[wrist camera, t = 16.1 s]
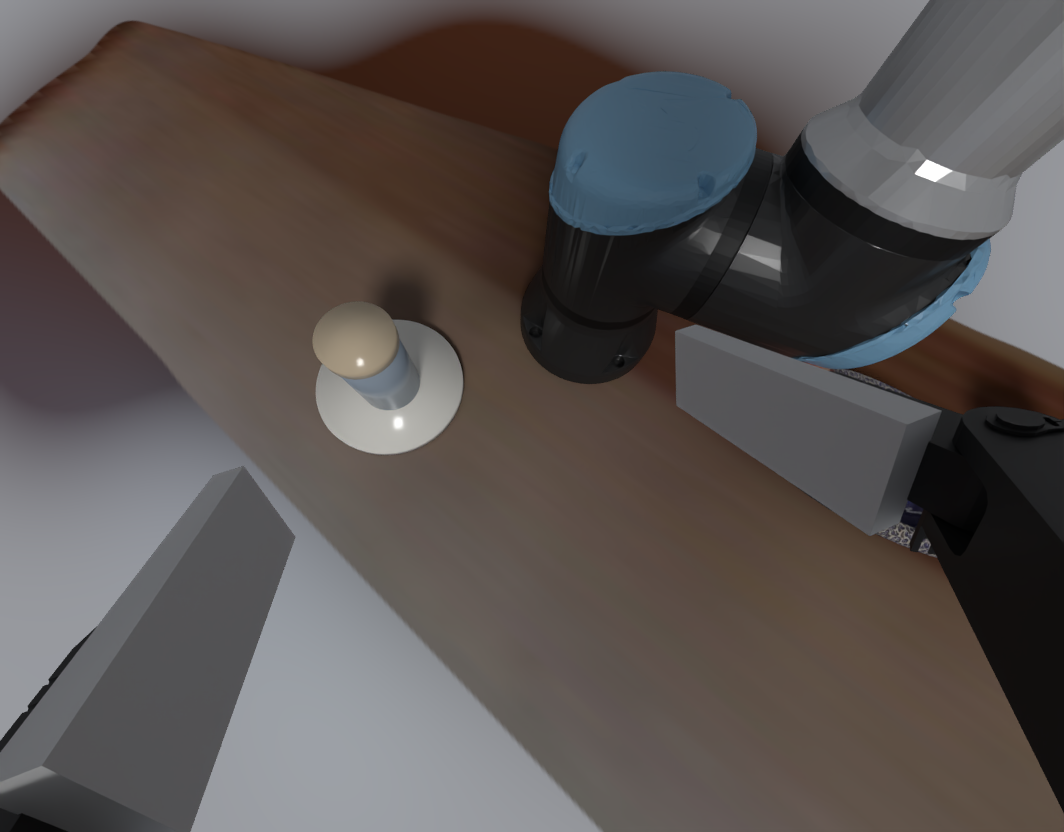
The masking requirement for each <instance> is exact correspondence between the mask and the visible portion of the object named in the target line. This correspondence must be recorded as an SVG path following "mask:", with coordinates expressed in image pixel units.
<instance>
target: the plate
mask: <svg viewBox="0 0 1064 832" xmlns="http://www.w3.org/2000/svg"><path fill="white" fill-rule="evenodd" d="M392 321H393V322H394V324H395V326H396V328H397V330H398V333H399V338H400V340H401V342H402V344H403V345H404V347H405V349H406V351H407V353H408V354H409V356H410V358H411V360H412V362H413V363H414V365H415V367H416V369H417V371H418V373H419V376H420V387H419V391H418V393H417V395H416V396H415V398H414V399H413V400H412V401H411V402H410V403H409V404H407V405H406V406H404V407H402V408H400V409H396V410H381V409H378V408H375V407H373V406H372V405H370V404H369V403H368V402H367V401H366V400H365V399H364V398H363V397H362V396H361V395H360V394H359V393H358V392H356V391H355V390H354V389H353V388H352V387H351V386H350V385H349V384H348V383H347V382H346V381H345V380H344V379H343V378H341V377H340V376H338V375H336V374H334V373H333V372H331V371H330V370H329V369H328V368H327V367H326V366H325V365H324V364H322V366H321V368H320V371H319V374H318V378H317V383H316V402H317V406H318V410H319V413H320V415H321V417H322V419H323V421H324V423H325V424H326V426H327V427H328V428H329V430H330V431H331V432H332V433H333V434H334V435H335V436H336V437H337V438H338V439H340V440H341V441H343V442H344V443H346V444H347V445H349V446H351V447H353V448H355V449H357V450H360V451H363V452H366V453H370V454H376V455H397V454H402V453H407V452H410V451H413V450H416V449H418V448H420V447H422V446H424V445H426V444H428V443H429V442H431V441H433V440H434V439H435V438H437V437H438V436H439V435H440V434H441V433H442V432H443V431H444V430H445V429H446V428H447V427H448V426H449V424H450V423H451V422H452V420H453V419H454V417H455V415H456V413H457V411H458V409H459V407H460V404H461V401H462V396H463V389H464V380H463V373H462V368H461V365H460V362H459V359H458V357H457V355H456V353H455V351H454V349H453V348H452V346H451V345H450V344H449V343H448V341H447V340H446V339H445V338H444V337H443V336H441V335H440V334H439V333H437V332H436V331H434V330H433V329H431V328H429V327H427V326H425V325H422V324H420V323H416V322H413V321H407V320H392Z"/></svg>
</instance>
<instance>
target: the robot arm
mask: <svg viewBox="0 0 1064 832" xmlns="http://www.w3.org/2000/svg"><path fill="white" fill-rule="evenodd" d="M1063 139H1064V0H930V1H929V2H928V3H927V5H926V6H925V7H924V9H923V10H922V12H921V13H920V14H919V16H918V17H917V19H916V20H915V21H914V22H913V24H912V25H911V27H910V28H909V29H908V31H907V32H906V33H905V35H904V36H903V37H902V39H901V40H900V42H899V43H898V44H897V46H896V47H895V48H894V50H893V51H892V53H891V54H890V55H889V57H888V58H887V59H886V61H885V62H884V63H883V65H882V66H881V67H880V69H879V70H878V72H877V73H876V74H875V76H874V77H873V78H872V80H871V81H870V82H869V84H868V85H867V87H866V88H865V89H864V91H863V92H862V93H861V94H860V95H858V96H857V97H855V98H854V99H852V100H850V101H847V102H845V103H843V104H840V105H838V106H836V107H833V108H831V109H829V110H826V111H824V112H822V113H819V114H817V115H815V116H814V117H812V118H811V120H810V121H809V122H808V123H807V125H806V126H805V127H804V129H803V130H802V132H801V133H800V135H799V136H798V138H797V139H796V141H795V142H794V144H793V145H792V147H791V148H790V150H789V151H788V152H787V154H786V155H785V156H780V155H776V154H773V153H770V152H766V151H763V150H760V149H757V148H756V141H757V129H756V123H755V120H754V117H753V115H752V113H751V111H750V110H749V108H748V107H747V105H746V104H745V103H744V102H743V101H742V100H741V99H737V100H733V99H731V91H730V90H729V89H728V88H727V87H725V86H723V85H721V84H719V83H717V82H715V81H712V80H710V79H707V78H704V77H701V76H697V75H693V74H687V73H680V72H666V71H664V72H649V73H641V74H637V75H632V76H628V77H625V78H623V79H622V80H621V81H618V82H614V83H611V84H608V85H605V86H604V87H602V88H600V89H599V90H597V91H596V92H594V93H593V94H591V95H590V96H589V97H588V98H586V99H585V100H584V101H583V102H582V103H581V104H580V105H579V106H578V107H577V109H576V110H575V111H574V113H573V114H572V115H571V117H570V118H569V120H568V122H567V124H566V126H565V128H564V130H563V133H562V135H561V139H560V143H559V148H558V153H557V158H556V164H555V168H554V171H553V173H552V175H551V179H550V189H549V198H550V203H549V212H548V221H547V230H546V238H545V247H544V256H543V265H542V266H541V268H540V269H539V271H538V272H537V274H536V275H535V276H534V278H533V279H532V281H531V282H530V284H529V286H528V288H527V290H526V292H525V295H524V298H523V301H522V307H521V331H522V336H523V339H524V342H525V344H526V346H527V348H528V350H529V351H530V353H531V354H532V356H533V357H534V358H535V359H536V361H537V362H538V363H539V364H540V365H542V366H543V367H544V368H545V369H546V370H548V371H549V372H551V373H553V374H554V375H556V376H558V377H560V378H563V379H565V380H568V381H572V382H576V383H584V384H597V383H604V382H608V381H611V380H614V379H617V378H619V377H621V376H623V375H624V374H626V373H628V372H629V371H630V370H631V369H633V368H634V367H635V366H636V365H637V364H638V362H639V361H640V360H641V359H642V357H643V356H644V354H645V353H646V352H647V350H648V348H649V347H650V345H651V343H652V340H653V337H654V334H655V330H656V322H657V311H658V309H659V310H662V311H664V312H667V313H670V314H673V315H676V316H678V317H681V318H683V319H686V320H688V321H691V322H694V323H696V324H699V325H702V326H704V327H702V326H699V325H693V326H690V327H687V328H683V329H680V330H677V331H675V350H676V405H677V406H678V407H680V408H681V409H683V410H684V411H686V412H687V413H689V414H690V415H692V416H693V417H695V418H696V419H697V420H699V421H700V422H702V423H703V424H705V425H706V426H708V427H709V428H711V429H712V430H714V431H715V432H717V433H718V434H720V435H721V436H723V437H724V438H726V439H727V440H729V441H730V442H731V443H733V444H734V445H736V446H737V447H739V448H740V449H742V450H743V451H745V452H746V453H748V454H749V455H751V456H752V457H754V458H755V459H757V460H758V461H760V462H761V463H762V464H764V465H765V466H767V467H768V468H770V469H771V470H773V471H774V472H776V473H777V474H779V475H780V476H782V477H783V478H785V479H786V480H788V481H789V482H791V483H792V484H794V485H795V486H796V487H798V488H799V489H801V490H802V491H804V492H805V493H807V494H808V495H810V496H811V497H813V498H814V499H816V500H817V501H819V502H820V503H822V504H823V505H825V506H826V507H828V508H829V509H830V510H832V511H833V512H835V513H836V514H838V515H839V516H841V517H842V518H844V519H845V520H847V521H848V522H850V523H851V524H853V525H854V526H856V527H857V528H859V529H860V530H861V531H863V532H864V533H866V534H867V535H869V536H871V535H873V534H876V533H878V532H880V531H882V530H885V529H887V528H889V527H892V526H894V525H896V524H898V523H899V522H900V520H901V517H902V514H903V512H904V509H905V507H906V504H907V501H910V502H912V503H914V504H915V505H917V506H919V507H921V508H923V512H922V514H921V517H920V519H919V521H918V524H917V526H916V529H915V531H914V533H913V536H912V538H911V541H910V551H913V552H918V550H919V548H920V546H921V543H922V541H923V539H928V540H929V542H930V544H931V546H930V548H929V550H928V554H933V555H936V556H937V558H938V560H939V562H940V564H941V566H942V568H943V570H944V572H945V574H946V576H947V578H948V580H949V582H950V584H951V586H952V588H953V590H954V592H955V594H956V597H957V599H958V601H959V603H960V605H961V607H962V609H963V611H964V613H965V615H966V617H967V619H968V621H969V623H970V625H971V627H972V629H973V631H974V633H975V635H976V637H977V639H978V641H979V643H980V645H981V647H982V649H983V651H984V653H985V655H986V657H987V659H988V661H989V663H990V665H991V667H992V669H993V671H994V673H995V675H996V677H997V679H998V681H999V683H1000V685H1001V687H1002V689H1003V691H1004V693H1005V695H1006V697H1007V699H1008V701H1009V703H1010V705H1011V707H1012V709H1013V711H1014V714H1015V716H1016V718H1017V720H1018V722H1019V724H1020V726H1021V728H1022V730H1023V732H1024V734H1025V736H1026V738H1027V740H1028V742H1029V744H1030V746H1031V748H1032V750H1033V752H1034V754H1035V756H1036V758H1037V760H1038V762H1039V764H1040V766H1041V768H1042V770H1043V772H1044V774H1045V776H1046V778H1047V780H1048V782H1049V784H1050V786H1051V788H1052V790H1053V792H1054V794H1055V796H1056V798H1057V800H1058V802H1059V804H1060V806H1061V808H1062V810H1063V812H1064V419H1062V420H1059V419H1057V418H1055V417H1052V416H1048V415H1045V414H1042V413H1039V412H1034V411H1029V410H1024V409H1019V408H1009V407H998V406H996V407H979V408H976V409H972V410H969V411H967V412H966V413H965V414H964V415H962V414H959V413H956V412H953V411H950V410H947V409H944V408H941V407H938V406H936V405H933V404H930V403H927V402H924V401H921V400H918V399H915V398H912V397H909V396H907V395H904V394H901V393H898V392H895V391H892V390H889V389H885V390H883V389H882V387H880V386H878V385H875V384H872V383H869V382H867V383H864V382H863V380H860V379H857V378H854V377H852V376H849V375H846V374H843V373H839V372H833V371H827V370H824V369H821V368H818V367H816V366H819V367H823V368H830V369H850V368H857V367H862V366H866V365H870V364H874V363H876V362H879V361H882V360H885V359H887V358H889V357H892V356H894V355H896V354H898V353H900V352H902V351H904V350H906V349H907V348H909V347H911V346H913V345H914V344H916V343H918V342H919V341H921V340H922V339H924V338H925V337H926V336H928V335H929V334H931V333H932V332H933V331H935V330H936V329H937V328H938V327H940V326H941V325H942V324H943V323H944V322H945V321H946V320H948V319H949V318H950V317H951V316H952V315H953V314H954V312H956V308H955V307H954V306H953V303H954V301H956V300H957V299H959V298H960V297H963V296H966V295H969V294H971V293H972V292H973V290H974V289H975V287H976V286H977V285H978V283H979V281H980V280H981V278H982V276H983V275H984V272H985V270H986V268H987V265H988V261H989V256H990V252H991V245H990V239H989V238H991V237H992V236H993V235H995V234H996V233H997V232H999V231H1000V230H1001V229H1002V228H1004V227H1005V226H1006V225H1007V224H1008V223H1009V221H1010V219H1011V217H1012V213H1013V207H1014V200H1015V192H1016V185H1017V183H1018V181H1019V179H1020V177H1021V175H1022V173H1023V172H1024V171H1025V170H1026V169H1028V168H1029V167H1030V166H1031V165H1032V164H1034V163H1035V162H1036V161H1037V160H1039V159H1040V158H1041V157H1042V156H1044V155H1045V154H1046V153H1047V152H1048V151H1050V150H1051V149H1052V148H1053V147H1055V146H1056V145H1057V144H1058V143H1060V142H1061V141H1062V140H1063ZM705 327H707V328H710V329H712V330H710V329H707V328H705ZM713 330H715V331H713ZM716 331H718V332H716ZM719 332H721V333H719ZM722 333H723V334H722ZM724 334H726V335H724ZM727 335H729V336H727ZM730 336H731V337H730ZM733 337H734V338H733ZM736 338H737V339H736ZM744 341H745V342H744ZM801 361H803V362H801ZM804 362H807V363H810V364H813V365H816V366H813V365H810V364H807V363H804ZM294 539H295V536H294V534H293V533H292V532H291V530H290V529H289V528H288V526H287V525H286V523H285V522H284V521H283V519H282V518H281V517H280V515H279V514H278V512H277V511H276V510H275V508H274V507H273V506H272V504H271V503H270V501H269V500H268V499H267V497H266V496H265V495H264V493H263V492H262V490H261V489H260V488H259V487H258V485H257V484H256V482H255V481H254V479H253V478H252V477H251V475H250V474H249V473H248V471H247V470H246V469H245V467H244V466H242V467H239V468H235V469H233V470H229V471H226V472H223V473H219V474H217V475H213V476H212V478H211V479H210V480H209V482H208V483H207V484H206V486H205V487H204V488H203V490H202V491H201V492H200V493H199V495H198V496H197V497H196V499H195V500H194V501H193V503H192V504H191V505H190V506H189V508H188V509H187V510H186V512H185V513H184V514H183V516H182V517H181V518H180V519H179V521H178V522H177V523H176V525H175V526H174V527H173V529H172V530H171V531H170V533H169V534H168V535H167V536H166V538H165V539H164V540H163V541H162V543H161V544H160V545H159V547H158V548H157V549H156V551H155V552H154V553H153V554H152V556H151V557H150V558H149V560H148V561H147V562H146V564H145V565H144V566H143V567H142V569H141V570H140V571H139V573H138V574H137V575H136V577H135V578H134V579H133V581H132V582H131V583H130V584H129V586H128V587H127V588H126V590H125V591H124V592H123V594H122V595H121V596H120V597H119V599H118V600H117V601H116V603H115V604H114V605H113V607H112V608H111V609H110V610H109V612H108V613H107V614H106V616H105V617H104V618H103V620H102V621H101V622H100V623H99V625H98V626H97V627H96V628H95V629H94V630H93V631H91V633H89V634H88V635H87V636H86V637H85V638H84V639H83V640H82V641H81V642H80V643H79V644H78V645H76V646H75V647H74V648H73V649H72V651H71V652H70V653H69V654H68V655H67V657H66V658H65V659H64V661H63V662H62V663H61V664H60V666H59V667H58V668H57V669H56V671H55V672H54V673H53V674H52V676H51V677H50V678H49V684H48V685H45V686H43V687H42V689H41V690H40V691H39V693H38V694H37V695H36V696H35V697H34V699H33V700H32V701H31V702H30V704H29V705H28V711H27V712H24V713H22V714H21V715H20V716H19V718H18V719H17V720H16V722H15V723H14V724H13V725H12V727H11V728H10V729H9V730H8V732H7V733H6V734H5V736H4V737H3V738H2V740H1V741H0V832H190V831H191V828H192V825H193V823H194V820H195V817H196V814H197V811H198V809H199V806H200V803H201V800H202V797H203V795H204V791H205V789H206V786H207V783H208V781H209V777H210V775H211V772H212V769H213V766H214V763H215V761H216V758H217V755H218V752H219V750H220V747H221V744H222V741H223V738H224V735H225V733H226V730H227V727H228V724H229V722H230V719H231V716H232V713H233V710H234V708H235V705H236V702H237V699H238V696H239V694H240V690H241V688H242V685H243V682H244V680H245V677H246V674H247V671H248V668H249V666H250V663H251V660H252V657H253V654H254V651H255V649H256V646H257V643H258V640H259V638H260V635H261V631H262V629H263V626H264V623H265V621H266V618H267V615H268V612H269V609H270V607H271V604H272V601H273V598H274V595H275V593H276V590H277V587H278V584H279V581H280V578H281V575H282V573H283V570H284V567H285V565H286V562H287V559H288V556H289V553H290V551H291V548H292V545H293V542H294Z"/></svg>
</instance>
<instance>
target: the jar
mask: <svg viewBox="0 0 1064 832" xmlns="http://www.w3.org/2000/svg"><path fill="white" fill-rule="evenodd" d="M313 348H314V352H315V354H316V356H317V358H318V359H319V360H320V362H321V363H323V364H324V365H325V366H326V367H327V368H328V369H329V370H330V371H331V372H333V373H334V374H336V375H338V376H340V377H341V378H343V379H344V380H345V381H346V382H347V383H348V384H349V385H350V386H351V387H352V388H353V389H354V390H355V391H356V392H358V393H359V394H360V395H361V396H362V397H363V398H364V399H365V400H366V401H367V402H368V403H369V404H370V405H372V406H373V407H375V408H378V409H381V410H396V409H400V408H402V407H404V406H406V405H407V404H409V403H410V402H411V401H412V400H413V399H414V398H415V396H416V395H417V393H418V391H419V387H420V376H419V373H418V371H417V369H416V367H415V365H414V363H413V362H412V360H411V358H410V356H409V354H408V353H407V351H406V349H405V347H404V345H403V344H402V342H401V340H400V338H399V333H398V330H397V328H396V326H395V324H394V322H393V321H392V319H391V317H390V316H389V315H388V314H387V312H385V311H384V310H383V309H382V308H380V307H379V306H376V305H374V304H371V303H367V302H348V303H345V304H342V305H339V306H337V307H335V308H333V309H331V310H330V311H329V312H327V313H326V314H325V315H324V316H323V317H322V318H321V319H320V321H319V322H318V324H317V326H316V328H315V330H314V334H313Z"/></svg>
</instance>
